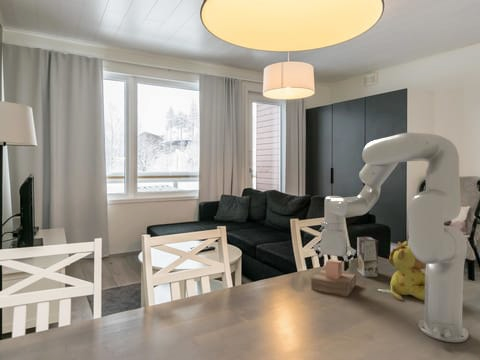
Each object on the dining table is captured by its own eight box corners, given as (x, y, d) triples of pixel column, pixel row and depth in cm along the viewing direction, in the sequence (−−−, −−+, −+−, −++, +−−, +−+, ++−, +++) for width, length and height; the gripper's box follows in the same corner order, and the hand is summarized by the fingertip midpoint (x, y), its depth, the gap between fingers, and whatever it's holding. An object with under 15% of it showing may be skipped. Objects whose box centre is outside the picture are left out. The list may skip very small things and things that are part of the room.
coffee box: (378, 276, 143) (378, 240, 143) (363, 277, 143) (364, 241, 143) (370, 270, 152) (370, 236, 152) (356, 270, 153) (356, 236, 152)
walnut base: (346, 296, 123) (346, 284, 122) (311, 289, 130) (311, 278, 130) (355, 284, 134) (355, 274, 134) (322, 278, 142) (322, 268, 142)
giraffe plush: (457, 304, 115) (458, 251, 114) (389, 303, 117) (389, 250, 116) (427, 283, 136) (428, 237, 135) (370, 282, 137) (370, 237, 136)
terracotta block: (338, 279, 129) (338, 264, 128) (325, 276, 131) (325, 262, 131) (341, 275, 133) (341, 261, 132) (329, 273, 136) (329, 259, 135)
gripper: (310, 226, 133) (310, 267, 133) (353, 230, 123) (353, 274, 124) (316, 223, 139) (316, 262, 140) (358, 227, 129) (358, 269, 130)
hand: (333, 268), depth 132 cm, fingers open, 9 cm apart
